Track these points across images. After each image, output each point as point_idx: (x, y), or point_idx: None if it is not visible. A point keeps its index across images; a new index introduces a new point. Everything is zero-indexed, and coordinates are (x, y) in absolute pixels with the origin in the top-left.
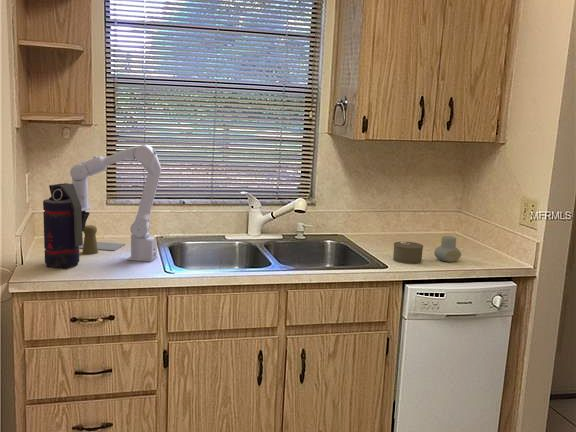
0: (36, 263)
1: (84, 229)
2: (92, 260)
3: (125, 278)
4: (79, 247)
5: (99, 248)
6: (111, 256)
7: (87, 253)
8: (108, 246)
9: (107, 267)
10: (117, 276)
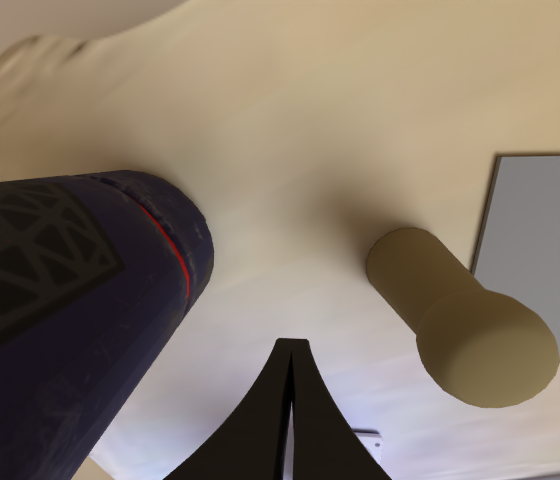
0: (125, 110)
1: (440, 327)
2: (264, 322)
3: (102, 464)
4: (504, 173)
5: (486, 283)
6: (350, 366)
7: (368, 267)
8: (539, 308)
9: (188, 397)
10: (109, 444)
